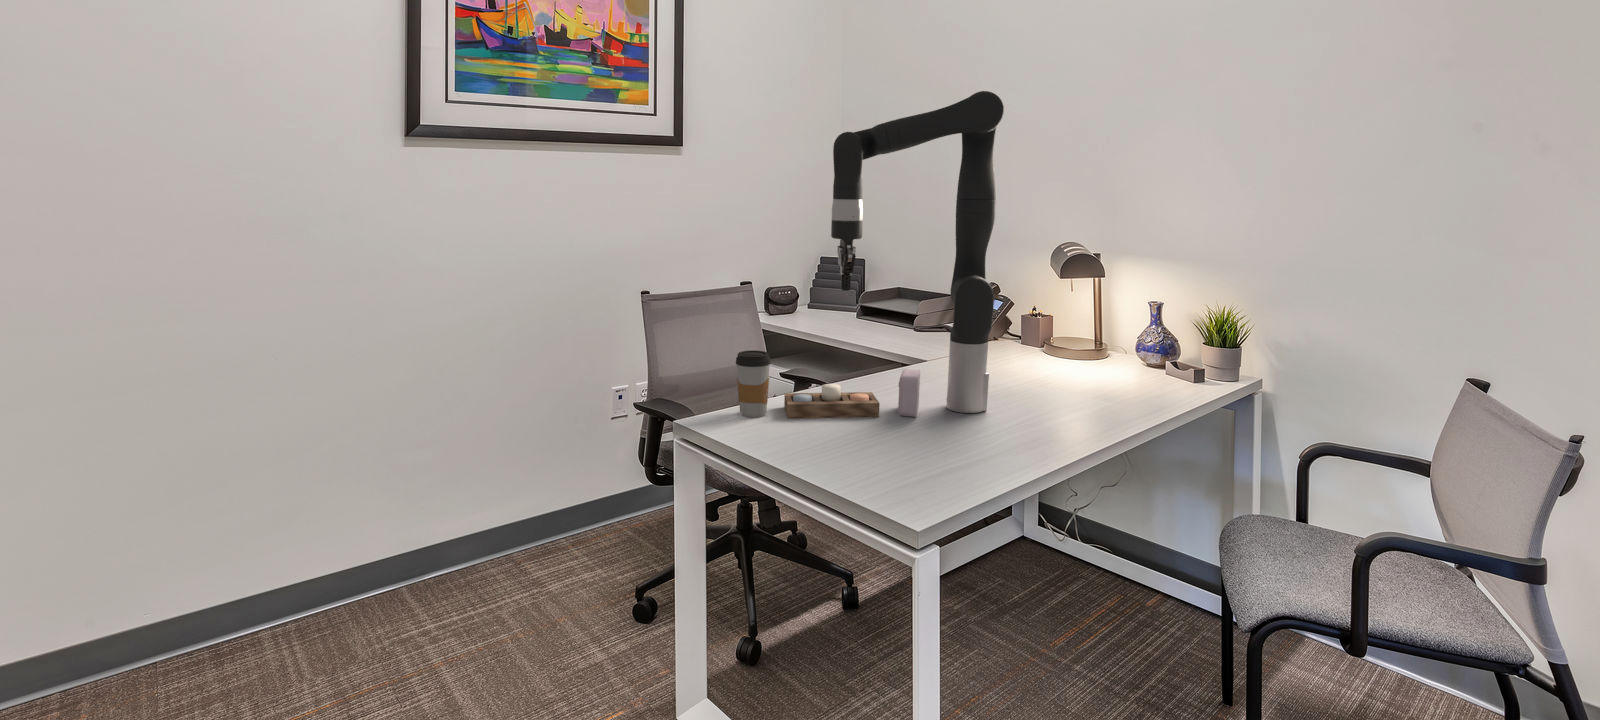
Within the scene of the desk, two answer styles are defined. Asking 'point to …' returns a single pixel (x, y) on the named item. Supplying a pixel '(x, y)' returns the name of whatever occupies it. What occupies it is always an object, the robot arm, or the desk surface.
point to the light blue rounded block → (802, 398)
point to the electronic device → (909, 392)
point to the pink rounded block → (859, 397)
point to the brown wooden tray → (831, 407)
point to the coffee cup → (753, 382)
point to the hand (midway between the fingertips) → (845, 290)
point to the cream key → (831, 392)
